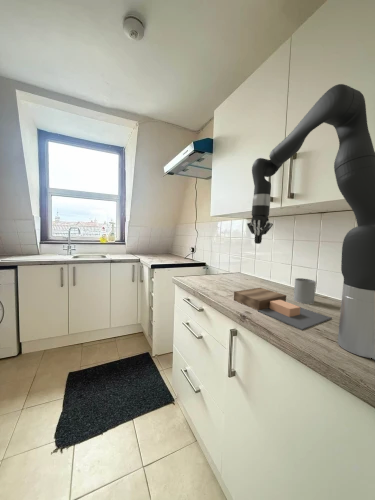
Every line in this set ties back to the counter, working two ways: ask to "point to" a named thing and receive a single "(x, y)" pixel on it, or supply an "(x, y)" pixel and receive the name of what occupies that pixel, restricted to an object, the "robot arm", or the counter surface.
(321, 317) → the mat
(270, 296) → the block
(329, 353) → the counter surface
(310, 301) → the cup
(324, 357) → the counter surface
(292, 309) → the orange rectangular block
